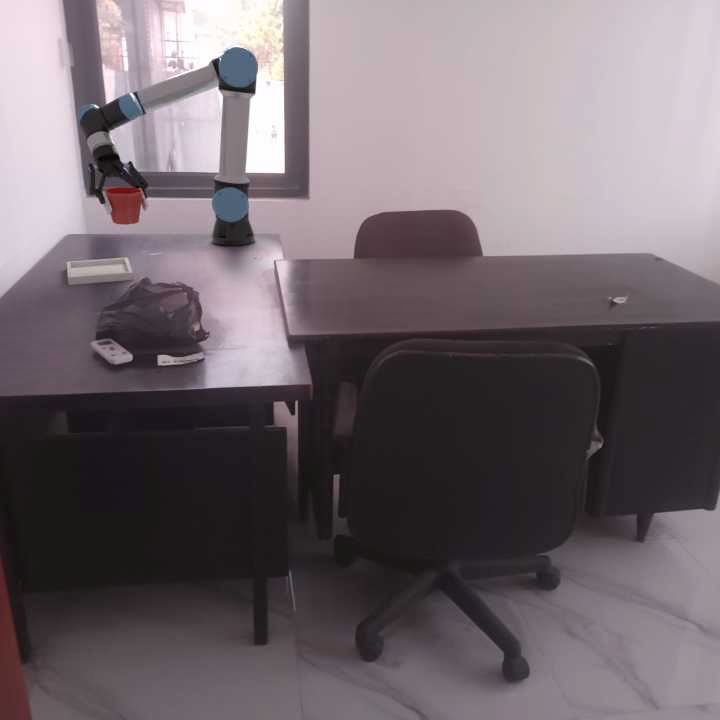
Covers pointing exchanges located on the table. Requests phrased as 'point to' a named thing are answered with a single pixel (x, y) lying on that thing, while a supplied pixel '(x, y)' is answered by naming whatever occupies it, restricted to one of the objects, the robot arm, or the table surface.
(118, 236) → the table surface
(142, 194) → the robot arm
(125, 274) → the drip tray
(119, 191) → the flower pot
